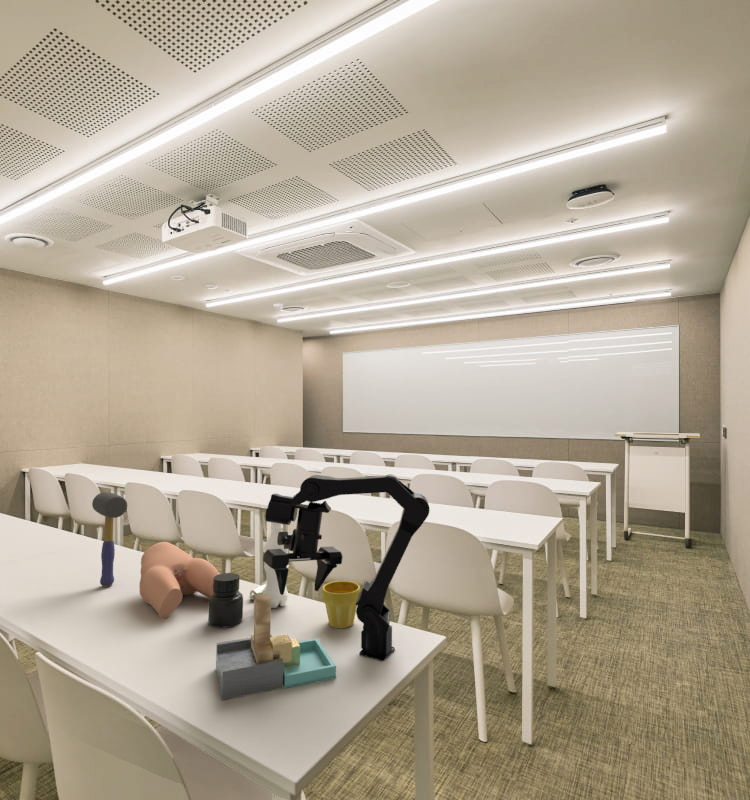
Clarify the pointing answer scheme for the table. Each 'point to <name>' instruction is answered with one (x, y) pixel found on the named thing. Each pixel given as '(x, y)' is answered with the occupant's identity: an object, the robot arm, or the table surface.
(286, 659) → the brass block
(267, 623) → the light brown t-shaped block
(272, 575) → the water bottle
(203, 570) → the medical training model
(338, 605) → the plant pot
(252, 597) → the pipe fitting
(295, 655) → the brass block
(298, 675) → the teal tray
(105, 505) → the rubber mallet
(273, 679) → the grey tray
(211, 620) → the ink bottle
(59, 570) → the table surface
